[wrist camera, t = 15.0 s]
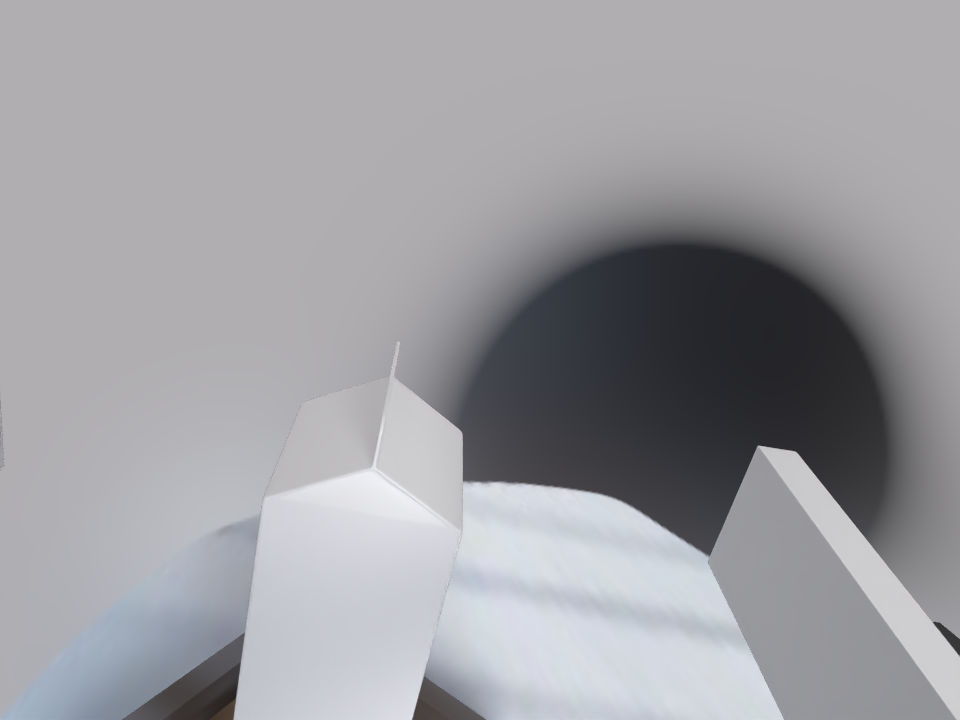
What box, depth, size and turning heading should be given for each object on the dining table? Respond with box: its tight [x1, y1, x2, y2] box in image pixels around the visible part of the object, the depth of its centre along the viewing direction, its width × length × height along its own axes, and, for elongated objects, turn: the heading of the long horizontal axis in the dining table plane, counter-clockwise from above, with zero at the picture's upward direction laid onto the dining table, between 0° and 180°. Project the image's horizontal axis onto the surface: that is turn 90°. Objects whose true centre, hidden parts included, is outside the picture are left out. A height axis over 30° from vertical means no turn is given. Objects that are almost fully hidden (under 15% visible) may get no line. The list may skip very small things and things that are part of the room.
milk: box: [233, 342, 463, 720], centre depth 28 cm, size 6×6×22 cm
